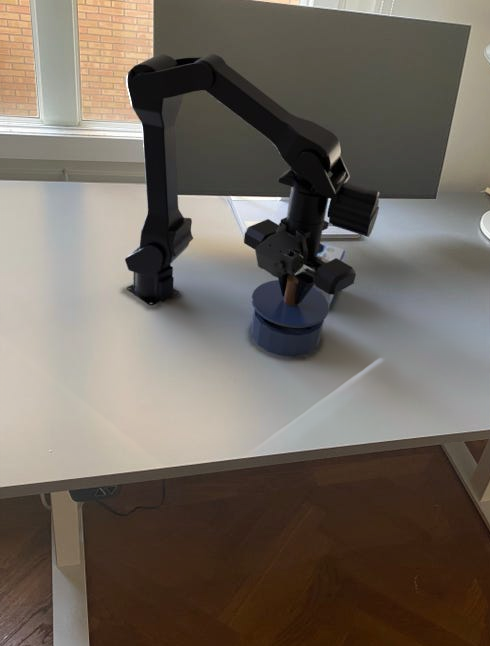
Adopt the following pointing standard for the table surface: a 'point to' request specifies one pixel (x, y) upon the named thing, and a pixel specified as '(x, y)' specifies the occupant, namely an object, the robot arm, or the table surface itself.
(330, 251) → the medicine box
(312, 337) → the dark blue round container
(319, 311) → the cover
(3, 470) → the table surface
